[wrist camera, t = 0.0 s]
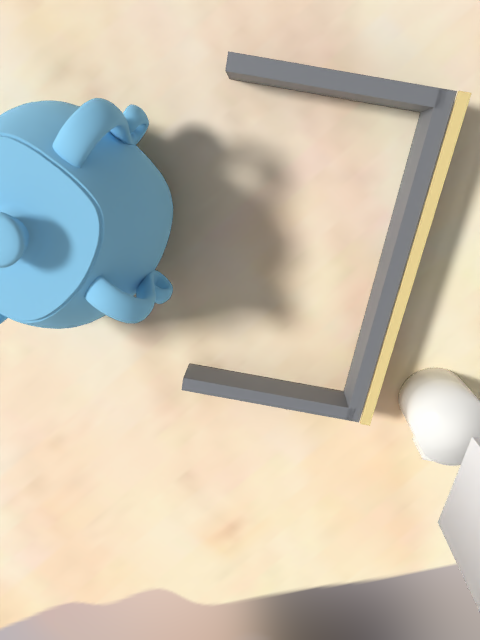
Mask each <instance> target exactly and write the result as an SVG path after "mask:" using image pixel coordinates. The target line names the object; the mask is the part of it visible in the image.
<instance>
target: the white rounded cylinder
mask: <svg viewBox="0 0 480 640" xmlns="http://www.w3.org/2000/svg"><path fill="white" fill-rule="evenodd" d="M398 402H399V407H400V409H401V411H402V413H403V415H404V417H405V419H406V421H407V423H408V425H409V427H410V429H411V431H412V432H413V434H414V436H413V441H414V443H415V445H416V447H417V449H418V451H419V453H420V455H421V457H422V459H424V460H429V461H435V462H437V463H440V464H444V465H461V463H462V461H463V458H464V456H465V453H466V451H467V448H468V446H469V443H470V441H471V438H472V437H477V438H480V400H479V399H478V398H477V397H476V396H475V395H474V394H473V392H472V391H471V390H470V389H469V388H468V387H467V386H466V384H465V383H464V382H463V381H462V380H461V379H460V378H459V377H458V376H457V375H456V374H455V373H453V372H452V371H450V370H447V369H443V368H427V369H423V370H420V371H418V372H416V373H414V374H413V375H411V376H410V377H409V378H408V379H407V380H406V381H405V382H404V384H403V385H402V387H401V389H400V392H399V397H398Z"/></svg>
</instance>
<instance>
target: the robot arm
mask: <svg viewBox="0 0 480 640" xmlns="http://www.w3.org/2000/svg"><path fill="white" fill-rule="evenodd" d="M438 524H439V526H440V528H441V530H442V532H443V534H444V537H445V539H446V541H447V543H448V545H449V547H450V550H451V552H452V554H453V556H454V558H455V560H456V563H457V565H458V567H459V569H460V571H461V573H462V576H463V578H464V580H465V582H466V584H467V586H468V588H469V591H470V593H471V595H472V597H473V599H474V602H475V604H476V606H477V608H478V610H479V612H480V438H477V437H472V438H471V441H470V443H469V446H468V448H467V451H466V453H465V456H464V458H463V461H462V463H461V466H460V468H459V471H458V473H457V476H456V478H455V481H454V483H453V486H452V488H451V491H450V493H449V496H448V498H447V501H446V503H445V506H444V508H443V511H442V513H441V516H440V518H439V521H438Z"/></svg>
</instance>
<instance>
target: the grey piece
mask: <svg viewBox="0 0 480 640" xmlns="http://www.w3.org/2000/svg"><path fill="white" fill-rule="evenodd" d="M226 73H227V75H228V77H229V79H234V80H239V81H245V82H251V83H257V84H262V85H268V86H274V87H279V88H285V89H291V90H297V91H302V92H308V93H314V94H320V95H325V96H331V97H337V98H342V99H348V100H354V101H360V102H365V103H371V104H377V105H383V106H388V107H394V108H400V109H405V110H411V111H417V112H420V116H419V119H418V123H417V127H416V130H415V134H414V138H413V141H412V145H411V148H410V152H409V156H408V159H407V163H406V167H405V170H404V174H403V178H402V181H401V185H400V188H399V192H398V196H397V199H396V203H395V207H394V210H393V214H392V218H391V221H390V225H389V228H388V232H387V236H386V239H385V243H384V247H383V250H382V254H381V258H380V261H379V265H378V268H377V272H376V276H375V279H374V283H373V287H372V290H371V294H370V297H369V301H368V305H367V308H366V312H365V316H364V319H363V323H362V327H361V330H360V334H359V337H358V341H357V345H356V348H355V352H354V356H353V359H352V363H351V367H350V370H349V374H348V377H347V381H346V385H345V388H344V391H339V390H333V389H328V388H322V387H316V386H311V385H305V384H300V383H294V382H289V381H283V380H278V379H272V378H267V377H261V376H256V375H250V374H245V373H239V372H234V371H228V370H223V369H217V368H212V367H206V366H201V365H195V364H189V366H188V368H187V370H186V373H185V375H184V378H183V384H182V390H185V391H190V392H196V393H201V394H207V395H212V396H218V397H223V398H229V399H234V400H240V401H245V402H251V403H256V404H262V405H267V406H273V407H278V408H284V409H289V410H295V411H300V412H306V413H311V414H317V415H322V416H328V417H333V418H339V419H344V420H350V421H355V422H359V420H360V417H361V414H362V410H363V407H364V403H365V400H366V397H367V393H368V390H369V387H370V383H371V380H372V376H373V373H374V370H375V366H376V363H377V360H378V356H379V353H380V349H381V346H382V343H383V339H384V336H385V333H386V329H387V326H388V322H389V319H390V316H391V312H392V309H393V305H394V302H395V299H396V295H397V292H398V289H399V285H400V282H401V278H402V275H403V272H404V268H405V265H406V262H407V258H408V255H409V251H410V248H411V245H412V241H413V238H414V235H415V231H416V228H417V224H418V221H419V218H420V214H421V211H422V208H423V204H424V201H425V197H426V194H427V191H428V187H429V184H430V180H431V177H432V174H433V170H434V167H435V164H436V160H437V157H438V153H439V150H440V147H441V143H442V140H443V137H444V133H445V130H446V126H447V123H448V120H449V116H450V113H451V110H452V106H453V103H454V99H455V96H456V93H457V91H453V90H447V89H441V88H435V87H430V86H424V85H418V84H412V83H407V82H401V81H395V80H389V79H384V78H378V77H372V76H366V75H361V74H355V73H349V72H343V71H338V70H332V69H326V68H320V67H315V66H309V65H303V64H297V63H292V62H286V61H280V60H274V59H269V58H263V57H257V56H251V55H246V54H240V53H234V52H228V57H227V64H226ZM470 96H471V93H469V92H463V91H458V94H457V97H456V100H455V104H454V107H453V110H452V114H451V117H450V121H449V124H448V127H447V131H446V134H445V137H444V141H443V144H442V147H441V151H440V154H439V158H438V161H437V164H436V168H435V171H434V174H433V178H432V181H431V185H430V188H429V191H428V195H427V198H426V201H425V205H424V208H423V211H422V215H421V218H420V222H419V225H418V228H417V232H416V235H415V238H414V242H413V245H412V249H411V252H410V255H409V259H408V262H407V265H406V269H405V272H404V275H403V279H402V282H401V286H400V289H399V292H398V296H397V299H396V302H395V306H394V309H393V313H392V316H391V319H390V323H389V326H388V329H387V333H386V336H385V339H384V343H383V346H382V350H381V353H380V356H379V360H378V363H377V366H376V370H375V373H374V377H373V380H372V383H371V387H370V390H369V393H368V397H367V400H366V404H365V407H364V410H363V414H362V417H361V420H360V424H364V425H369V426H370V423H371V420H372V416H373V413H374V410H375V407H376V403H377V400H378V397H379V394H380V390H381V387H382V384H383V380H384V377H385V374H386V371H387V367H388V364H389V361H390V358H391V354H392V351H393V348H394V345H395V341H396V338H397V335H398V331H399V328H400V325H401V322H402V318H403V315H404V312H405V309H406V305H407V302H408V299H409V296H410V292H411V289H412V286H413V283H414V279H415V276H416V273H417V269H418V266H419V263H420V260H421V256H422V253H423V250H424V247H425V243H426V240H427V237H428V234H429V230H430V227H431V224H432V220H433V217H434V214H435V211H436V207H437V204H438V201H439V198H440V194H441V191H442V188H443V185H444V181H445V178H446V175H447V171H448V168H449V165H450V162H451V158H452V155H453V152H454V149H455V145H456V142H457V139H458V136H459V132H460V129H461V126H462V123H463V119H464V116H465V113H466V109H467V106H468V103H469V100H470Z"/></svg>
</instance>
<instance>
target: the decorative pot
mask: <svg viewBox="0 0 480 640" xmlns="http://www.w3.org/2000/svg"><path fill="white" fill-rule="evenodd" d="M148 125H149V120H148V118H147V116H146V114H145V112H144V111H143V110H142V109H141V108H140V107H138V106H136V105H129V106H128V107H127V108H126V110H125V111H124V113H122V112H121V111H120V110H119V109H118V108H117V107H116V106H115V105H114V104H113V103H111V102H109V101H107V100H105V99H102V98H95V99H91V100H89V101H87V102H86V103H84V104H83V105H82V106H76V105H73V104H70V103H66V102H61V101H39V102H31V103H26V104H23V105H20V106H18V107H15V108H13V109H10V110H8V111H6V112H5V113H3V114H1V115H0V324H1V323H2V322H3V321H4V320H6V319H7V318H10V319H12V320H15V321H17V322H20V323H23V324H27V325H31V326H36V327H43V328H55V329H61V328H72V327H77V326H81V325H84V324H87V323H90V322H93V321H95V320H97V319H99V318H101V317H103V316H105V315H107V316H109V317H111V318H113V319H116V320H118V321H121V322H125V323H138V322H140V321H142V320H144V319H145V318H146V317H147V316H148V315H149V314H150V312H151V311H152V309H153V307H154V304H155V303H157V304H162V303H164V302H166V301H167V300H168V299H169V298H170V297H171V295H172V292H173V287H172V284H171V283H170V282H169V280H168V279H167V278H166V277H165V276H164V275H163V274H161V273H160V272H158V271H156V270H155V269H156V267H157V265H158V263H159V261H160V260H161V258H162V255H163V253H164V250H165V248H166V245H167V242H168V238H169V235H170V231H171V226H172V220H173V203H172V197H171V193H170V190H169V187H168V185H167V183H166V181H165V179H164V177H163V176H162V174H161V172H160V171H159V170H158V169H157V168H156V166H155V165H154V164H153V163H152V161H151V160H150V159H149V158H148V157H147V156H146V155H145V154H144V153H143V152H142V151H141V150H140V149H139V148H138V147H137V146H136V144H137V143H138V142H139V141H140V140H141V138H142V137H143V135H144V134H145V132H146V130H147V128H148ZM135 294H136V297H134V295H135Z"/></svg>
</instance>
